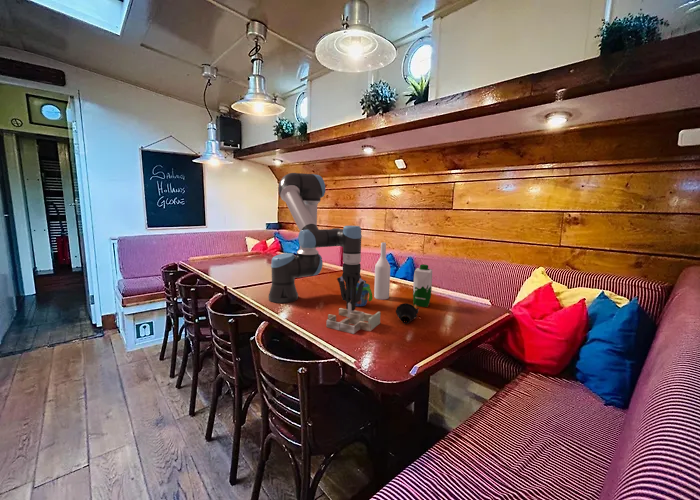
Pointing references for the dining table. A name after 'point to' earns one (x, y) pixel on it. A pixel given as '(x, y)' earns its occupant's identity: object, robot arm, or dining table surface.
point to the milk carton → (422, 286)
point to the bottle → (382, 276)
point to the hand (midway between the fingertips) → (350, 316)
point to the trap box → (346, 327)
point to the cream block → (356, 317)
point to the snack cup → (364, 295)
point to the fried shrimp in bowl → (406, 312)
